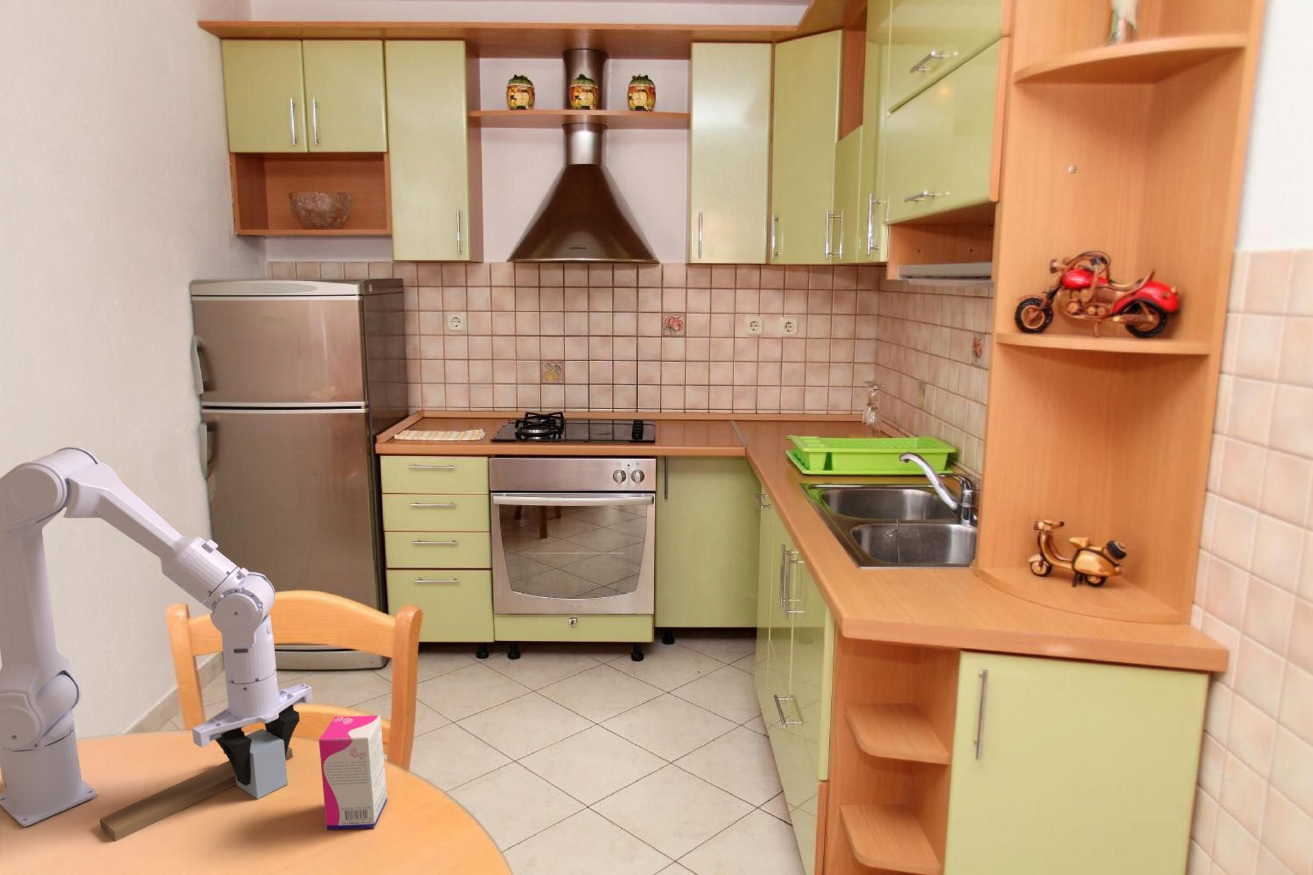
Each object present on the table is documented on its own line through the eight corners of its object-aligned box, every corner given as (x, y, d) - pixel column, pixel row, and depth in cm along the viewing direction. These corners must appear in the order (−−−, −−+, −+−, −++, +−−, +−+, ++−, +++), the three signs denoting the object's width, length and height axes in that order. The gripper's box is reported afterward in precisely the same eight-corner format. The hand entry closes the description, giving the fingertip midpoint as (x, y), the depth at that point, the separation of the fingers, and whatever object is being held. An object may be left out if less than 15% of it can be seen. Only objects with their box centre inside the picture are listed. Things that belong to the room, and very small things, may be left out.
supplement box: (388, 799, 110) (382, 713, 108) (375, 829, 104) (368, 739, 102) (340, 800, 110) (333, 714, 107) (324, 830, 104) (317, 740, 102)
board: (100, 827, 105) (99, 817, 104) (276, 747, 122) (275, 738, 122) (116, 840, 102) (114, 830, 102) (292, 756, 119) (291, 748, 119)
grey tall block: (214, 770, 116) (209, 728, 115) (244, 757, 119) (239, 715, 118) (257, 798, 110) (253, 754, 109) (287, 783, 113) (283, 740, 112)
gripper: (209, 705, 102) (220, 812, 105) (322, 661, 113) (330, 758, 116) (179, 688, 106) (191, 792, 109) (291, 647, 118) (299, 741, 120)
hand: (261, 773), depth 113 cm, fingers closed on grey tall block, 4 cm apart
